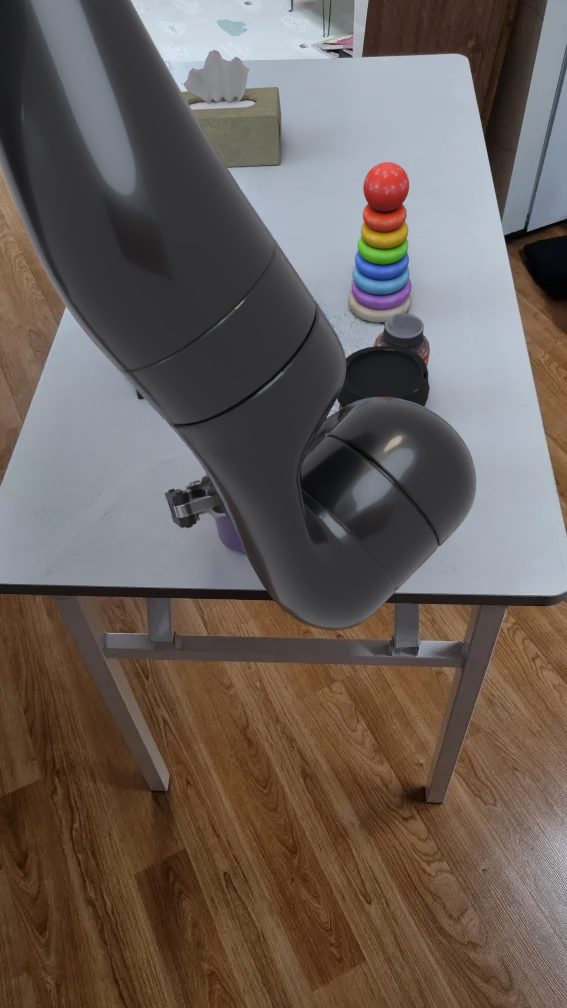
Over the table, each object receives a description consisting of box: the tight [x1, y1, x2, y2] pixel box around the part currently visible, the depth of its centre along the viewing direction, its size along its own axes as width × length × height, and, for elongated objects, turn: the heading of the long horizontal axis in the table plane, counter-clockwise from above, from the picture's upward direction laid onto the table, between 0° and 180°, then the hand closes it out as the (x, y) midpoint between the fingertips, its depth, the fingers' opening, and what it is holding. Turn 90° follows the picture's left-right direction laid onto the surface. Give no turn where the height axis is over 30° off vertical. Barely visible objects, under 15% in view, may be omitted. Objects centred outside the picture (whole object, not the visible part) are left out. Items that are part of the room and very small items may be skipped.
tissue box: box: [181, 49, 282, 168], centre depth 114 cm, size 19×10×16 cm, turn 90°
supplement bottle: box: [372, 312, 431, 367], centre depth 77 cm, size 6×6×11 cm
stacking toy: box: [348, 161, 412, 324], centre depth 86 cm, size 8×8×19 cm
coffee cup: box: [336, 345, 430, 411], centre depth 69 cm, size 8×8×15 cm
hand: (243, 478), depth 63 cm, fingers open, 8 cm apart
